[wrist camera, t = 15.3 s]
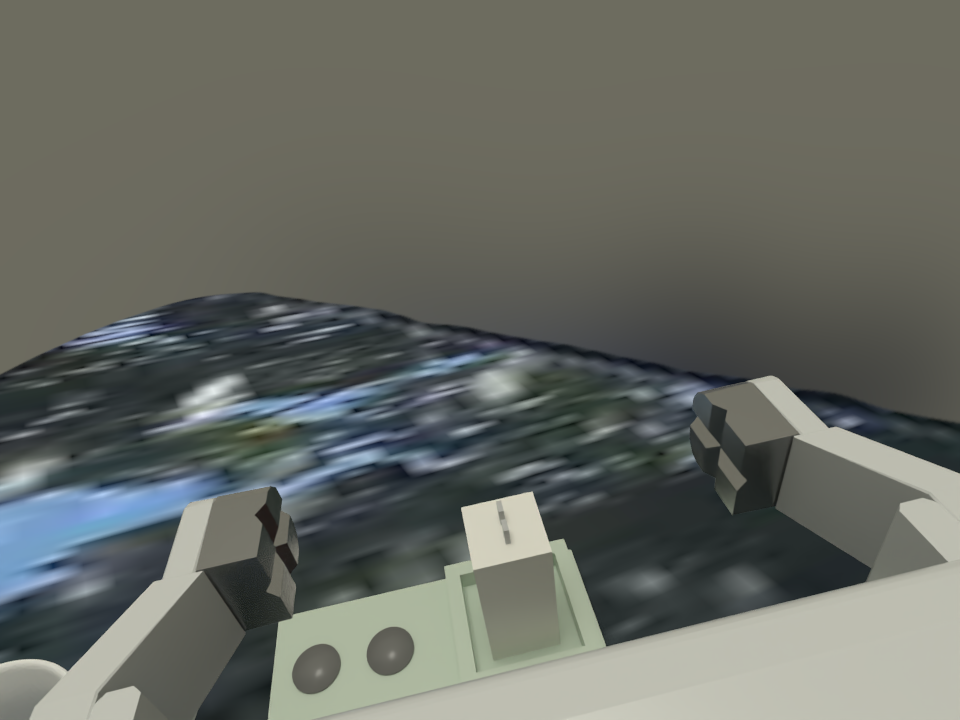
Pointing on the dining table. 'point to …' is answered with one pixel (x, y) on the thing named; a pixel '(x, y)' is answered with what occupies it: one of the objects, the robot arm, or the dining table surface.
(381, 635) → the green desk organizer
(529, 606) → the charger
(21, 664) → the mug
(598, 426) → the dining table surface
